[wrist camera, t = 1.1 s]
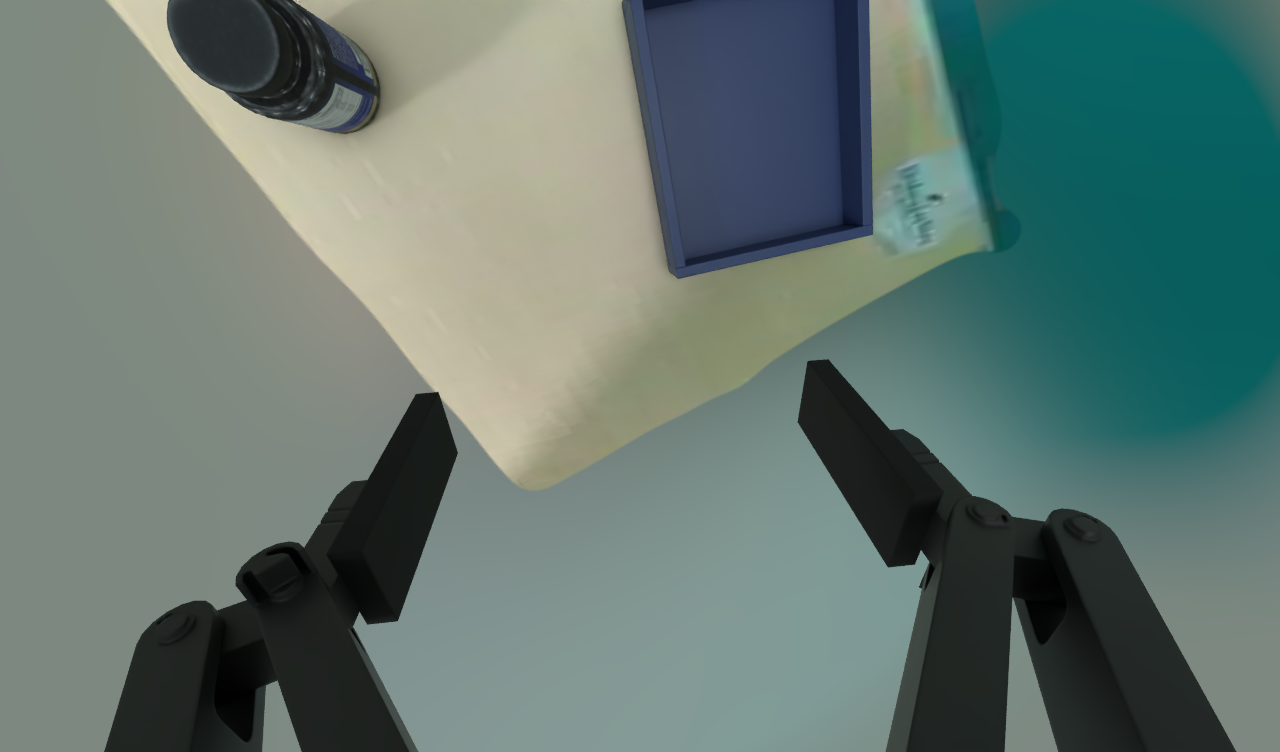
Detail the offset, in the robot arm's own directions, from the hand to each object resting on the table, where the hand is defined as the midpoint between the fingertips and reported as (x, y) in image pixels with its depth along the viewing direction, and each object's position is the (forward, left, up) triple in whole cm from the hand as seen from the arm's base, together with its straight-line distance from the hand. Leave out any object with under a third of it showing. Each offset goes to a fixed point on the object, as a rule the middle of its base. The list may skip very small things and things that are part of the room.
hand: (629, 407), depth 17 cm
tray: (-9, +14, -24) cm, 29 cm away
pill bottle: (-17, -14, -24) cm, 33 cm away
